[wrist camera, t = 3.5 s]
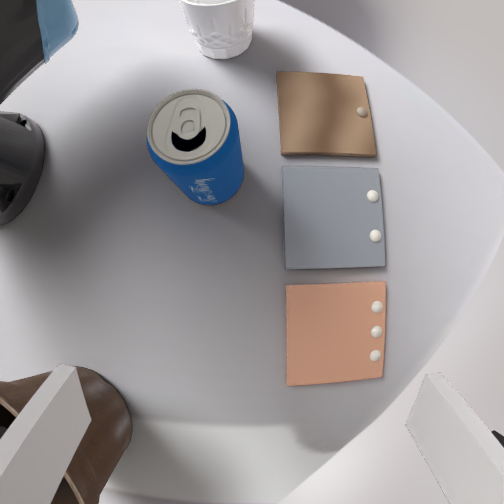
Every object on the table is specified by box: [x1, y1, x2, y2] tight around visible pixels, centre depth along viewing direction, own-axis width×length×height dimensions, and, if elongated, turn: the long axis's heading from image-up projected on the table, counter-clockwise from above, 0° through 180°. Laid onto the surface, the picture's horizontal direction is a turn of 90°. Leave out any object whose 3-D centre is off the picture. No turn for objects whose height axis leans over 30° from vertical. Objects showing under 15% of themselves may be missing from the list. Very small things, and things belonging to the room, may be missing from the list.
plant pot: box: [0, 366, 132, 504], centre depth 22 cm, size 16×16×16 cm
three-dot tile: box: [286, 281, 386, 386], centre depth 30 cm, size 10×10×1 cm
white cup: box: [179, 0, 255, 59], centre depth 27 cm, size 8×8×10 cm
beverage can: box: [147, 89, 244, 205], centre depth 25 cm, size 6×6×12 cm
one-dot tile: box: [276, 72, 377, 157], centre depth 31 cm, size 10×10×1 cm
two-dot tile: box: [282, 166, 385, 269], centre depth 30 cm, size 10×10×1 cm
